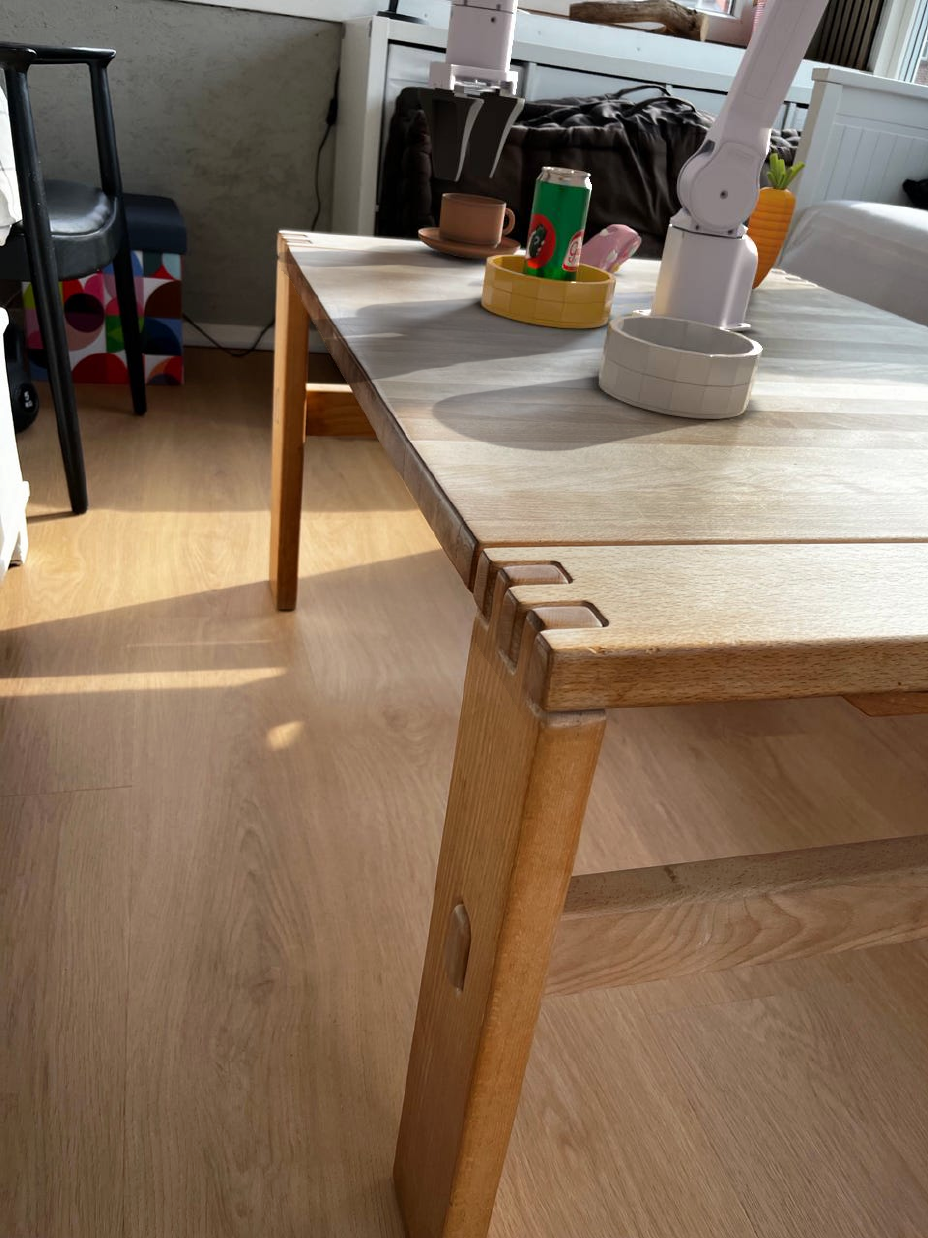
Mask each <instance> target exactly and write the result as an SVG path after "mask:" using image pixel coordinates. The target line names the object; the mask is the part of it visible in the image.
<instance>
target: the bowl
mask: <svg viewBox="0 0 928 1238" xmlns="http://www.w3.org/2000/svg"><path fill="white" fill-rule="evenodd" d="M524 260H525V254H516V253H515V254H513V255H496V256H492V257H488V258H487V259H486V263H485V270H484V278H483V285H482V286H483V287H482V294H481V301H480V304H481V306H482V307H483V308H484V309H485V310H486V311H489V312H491V313H492V314H494V315H498V316H500V317H503V318H506V319H510V320H513V321H517V322H521V323H526V324H530V325H531V324H532V325H536V326H543V327H551V328H561V329H593V328H599V327H602V326H605V325H606V324H607V323H608V322H609V318H610V315H611V310H612V307H613V306H612V305H613V300H614V294H615V289H616V283H617V278H616V276H615V275H614V273H613V274H611V273H609V272H607V271H605V270H603V269H600V268H596V267H593V266H589V265H586V264H582V263H579V265H578V270H577V276H576V282H568V281H559V280H552V279H545V278H539V277H534V276H529V275H525V274H523V267H524Z"/></svg>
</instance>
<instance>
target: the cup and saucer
mask: <svg viewBox="0 0 928 1238" xmlns="http://www.w3.org/2000/svg"><path fill="white" fill-rule="evenodd" d="M506 206H507V203H506V201H503V200H500V199H496V198H492V197H489V196H488V197H487V196H482V195H475V194H469V193H457V192H456V193H454V192H453V193H452V192H450V193H443V194H442V196H441V205H440V217H439V226H438V227H424V228H420V229H418V232H417V235H418V238H419V239H420V240H421V242H422V243H423V244H424V245H426V246H427V247H429V248H431V249H433V250H435V251H437V252H440V253H443V254H446V255H450V256H454V257H459V258H464V259H472V260H487V258H488V257H492V256H496V255H513V254H515V255H516V253H517V252H519V250H520V249H521V243H520V242H518V241H517V240H515V239H513V238H509V237H507V236H506V235H509V234H510V233H511V232H512V230H513V229H514V227H515V222H516V221H515V220H516V219H515V214H514V212H513V211H512V210H511V209H510V208H507V207H506ZM505 215H506V216H508V218H509V219H508V220H509V223H508V226H507V227H506V228H504V229H503V226H504V219H505V218H504V217H505Z"/></svg>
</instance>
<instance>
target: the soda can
mask: <svg viewBox="0 0 928 1238" xmlns="http://www.w3.org/2000/svg"><path fill="white" fill-rule="evenodd" d="M541 171H542V172H541V173H540V174H539V176H538V177H536V179H535V187H534V192H533V200H532V206H531V213H530V221H529V227H528V233H527V240H526V247H525V253H524V255H525V260H524V267H523V274H525V275H529V276H534V277H539V278H545V279H552V280H559V281H568V282H576V276H577V270H578V265H579V259H580V253H581V247H582V246H583V241H584V235H585V230H586V223H587V217H588V212H589V207H590V206H589V205H590V199H591V193H592V184H591V182H590V179H589V177H590V176H591V174H590V173H588V172H586V171H581V170H577V169H571V168H565V167H555V166H542V167H541Z"/></svg>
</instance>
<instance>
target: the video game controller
mask: <svg viewBox="0 0 928 1238" xmlns="http://www.w3.org/2000/svg"><path fill="white" fill-rule="evenodd" d="M642 241H643V240H642V238H641V237H640V236H639V234H638V232H637V231H636V230H634V229H632V228H630V227H629V226H627V225H625V224H615V223H614V224H611V225H608V226H607V227H606V228H603V229H601V231H600V232H599V233H597V234H595V235H594V236H592V237H591V238H590V239H589V240H588V241H587V242H586V243H584V244H582V247H581V253H580V259H579V263H582V264H586V265H589V266H593V267H596V268H600V269H603V270H605V271H607V272H609V273H611V274H613V275H614V273H615V272H618V271H619V270H620V267H621V266H622V265H623V264H624V263H626V261H628V260H629V259H631V257H633V255H634V254H636V252H637V250H638V248H639V247H640V245H641V244H642Z"/></svg>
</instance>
